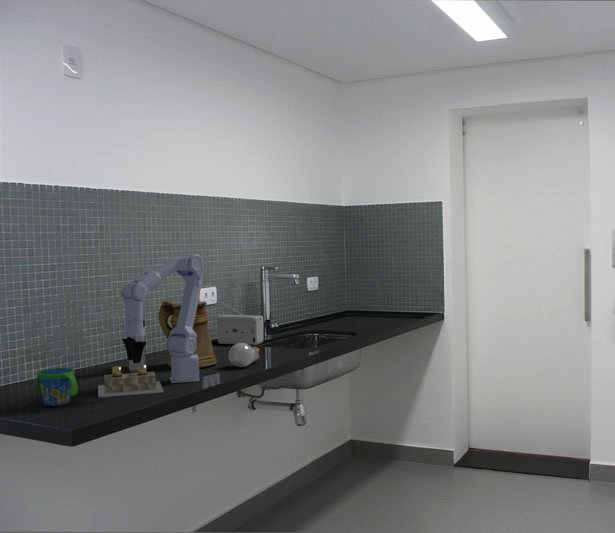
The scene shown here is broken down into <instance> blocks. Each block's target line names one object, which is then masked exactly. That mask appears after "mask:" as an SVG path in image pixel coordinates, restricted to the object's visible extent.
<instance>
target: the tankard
mask: <svg viewBox="0 0 615 533" xmlns="http://www.w3.org/2000/svg"><path fill="white" fill-rule="evenodd" d="M181 304H182V302H172V301H166V300H162V302H161V304H160V307H159V310H158V323H159V326H160V328H161V330H162V333H163V334H164V336H165V338H166V340H167V339H168V337H169V336H170V332H171V330H172V329H174V328H175V327H176V326H177V322H178V318H179V313H180V308H181ZM207 305H208V304H207V302H206V301H198V304H197V309H196V314H195V318H194V323H193V328H192V329H193V331H194V332H195V333H196V334H197V337H196V343H197V347H196V350H195V352H194V353H193V355H194V354H197V355H198V359H199V368H204V367H209V366H213V365H216V363H217V357H216V354H215V353H214V347H213V344H212V338H211V334H210V328H209V322H208V321H209V315H208V314H209V313H208V312H207V310H206V307H205V306H207ZM169 318H170V321H169ZM169 323H170V324H171V326H170V324H169ZM167 365H168V367H170V368H171V355H170V354H168V355H167Z"/></svg>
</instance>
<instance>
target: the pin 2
mask: <svg viewBox="0 0 615 533" xmlns="http://www.w3.org/2000/svg"><path fill="white" fill-rule="evenodd" d="M147 372H148V371H147V364H146V365H138V376H141V375H147Z"/></svg>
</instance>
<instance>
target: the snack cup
mask: <svg viewBox="0 0 615 533" xmlns="http://www.w3.org/2000/svg"><path fill="white" fill-rule="evenodd" d="M75 372H76V371H75V369H73V368H70V367H56V368H55V367H54V368H53V367H52V368H45V369H41V370H39V371H37V374H36V376H37V377H36V381H35V390H36V391H37V392H41V397H42V402H43V403H42V404H43V405H44V406H48V407H62V406H63V407H64V406H67V405H68V404H69V403H70V401H71V397H74V396H76V395H77V394H78V391H79V387H78V384H77V379H76V377H75V375H76V374H75Z"/></svg>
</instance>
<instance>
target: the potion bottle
mask: <svg viewBox="0 0 615 533" xmlns="http://www.w3.org/2000/svg"><path fill="white" fill-rule="evenodd" d="M261 358H262V354H261V351H260V347H258V346H252V345H248V344H246V343H237V344H233V345H232V347H231V348H230V349H229V351H228V359H229V362H230V363H231V365H233V366H234V367H236V368H242V367H245V368H247V366H249V365H250V364H251V365H252V364H253V363H255V362H257V361H259V360H260V359H261Z"/></svg>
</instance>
